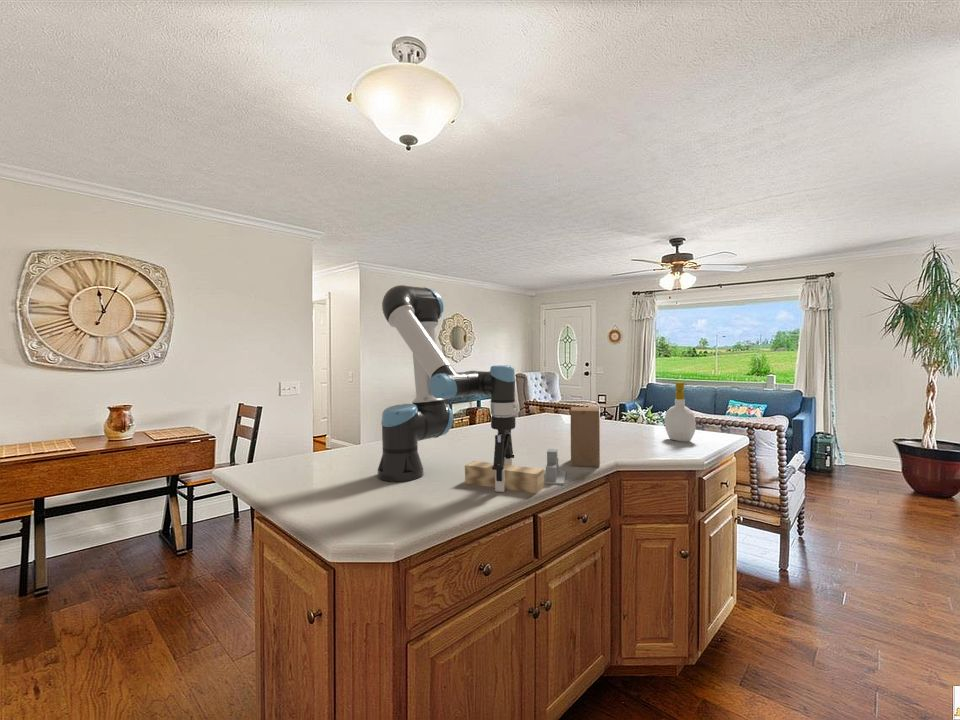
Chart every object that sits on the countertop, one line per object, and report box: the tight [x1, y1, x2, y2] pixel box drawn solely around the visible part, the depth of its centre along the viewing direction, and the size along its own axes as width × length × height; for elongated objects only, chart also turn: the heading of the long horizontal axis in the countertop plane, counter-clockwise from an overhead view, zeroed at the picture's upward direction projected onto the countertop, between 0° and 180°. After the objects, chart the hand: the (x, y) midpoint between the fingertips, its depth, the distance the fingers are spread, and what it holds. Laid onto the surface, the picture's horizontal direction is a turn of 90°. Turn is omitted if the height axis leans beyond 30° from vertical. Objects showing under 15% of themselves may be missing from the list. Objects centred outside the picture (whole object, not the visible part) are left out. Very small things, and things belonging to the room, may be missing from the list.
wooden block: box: [570, 406, 601, 468], centre depth 167 cm, size 10×10×20 cm
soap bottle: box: [664, 381, 697, 443], centre depth 204 cm, size 14×9×26 cm, turn 32°
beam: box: [464, 460, 545, 494], centre depth 141 cm, size 24×6×6 cm, turn 63°
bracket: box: [544, 448, 567, 486], centre depth 149 cm, size 8×14×9 cm, turn 166°
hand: (504, 484), depth 142 cm, fingers open, 12 cm apart
